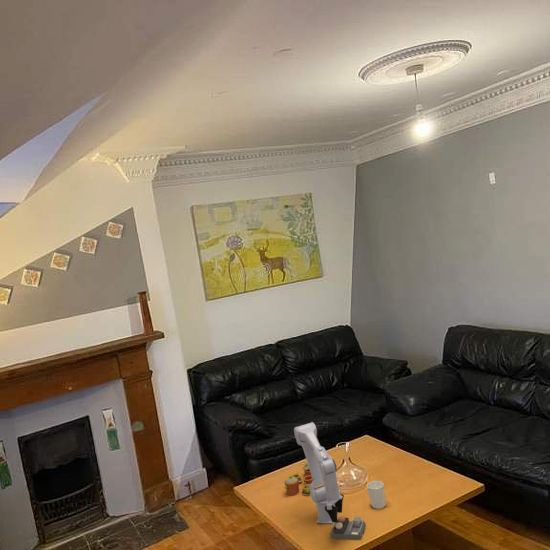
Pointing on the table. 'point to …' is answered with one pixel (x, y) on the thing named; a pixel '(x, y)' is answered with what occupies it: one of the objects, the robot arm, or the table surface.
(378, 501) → the white cup
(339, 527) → the cream button
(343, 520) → the terracotta button
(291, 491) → the potted succulent plants
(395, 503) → the table surface
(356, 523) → the slider knob
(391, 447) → the table surface
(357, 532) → the control panel
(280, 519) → the table surface
